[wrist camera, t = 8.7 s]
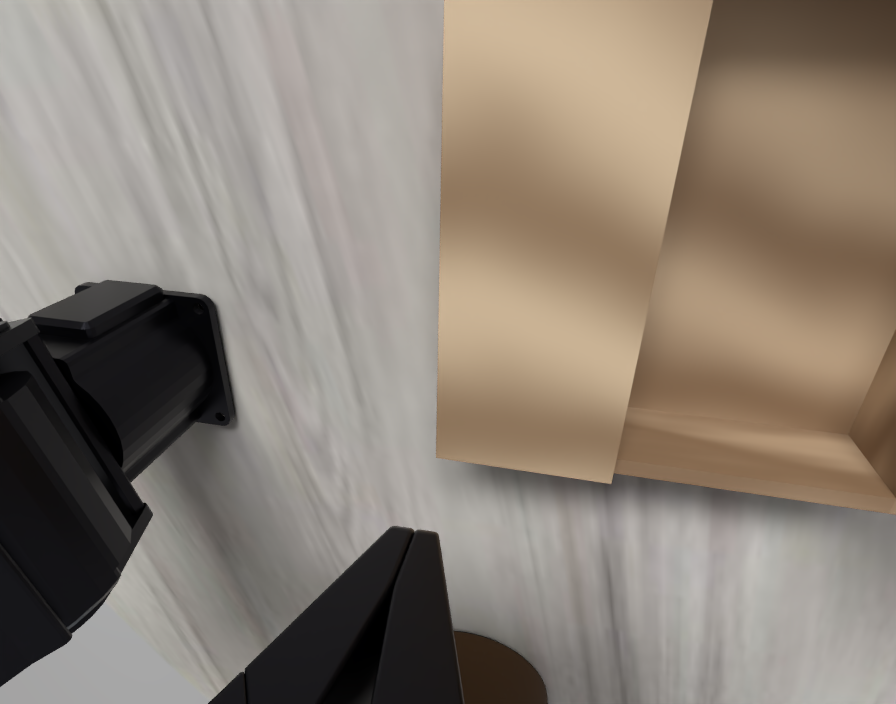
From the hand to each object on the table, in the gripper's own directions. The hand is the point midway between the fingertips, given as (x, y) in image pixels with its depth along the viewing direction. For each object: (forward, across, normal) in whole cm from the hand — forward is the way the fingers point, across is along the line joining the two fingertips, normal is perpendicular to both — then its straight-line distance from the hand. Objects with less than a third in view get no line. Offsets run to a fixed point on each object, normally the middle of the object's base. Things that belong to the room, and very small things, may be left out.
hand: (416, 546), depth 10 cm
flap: (+9, -2, -3) cm, 9 cm away
